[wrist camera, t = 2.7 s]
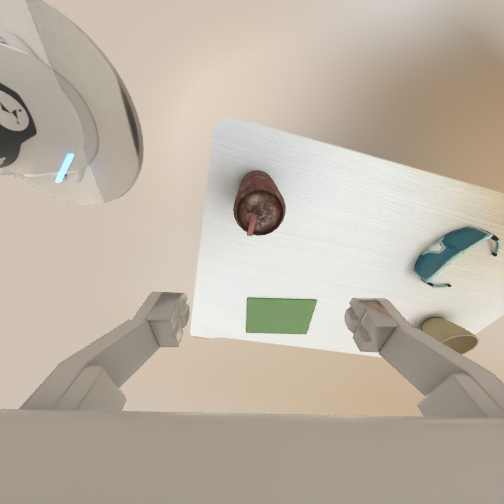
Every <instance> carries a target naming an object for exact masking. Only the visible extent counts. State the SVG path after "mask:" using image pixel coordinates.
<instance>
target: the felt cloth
mask: <svg viewBox="0 0 504 504" xmlns="http://www.w3.org/2000/svg"><path fill="white" fill-rule="evenodd" d="M316 302H317V300H309V299H275V298H248V299H247V328H246V333H279V334H307V331H308V328H309V324H310V321H311V318H312V315H313V312H314V309H315V305H316Z"/></svg>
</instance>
